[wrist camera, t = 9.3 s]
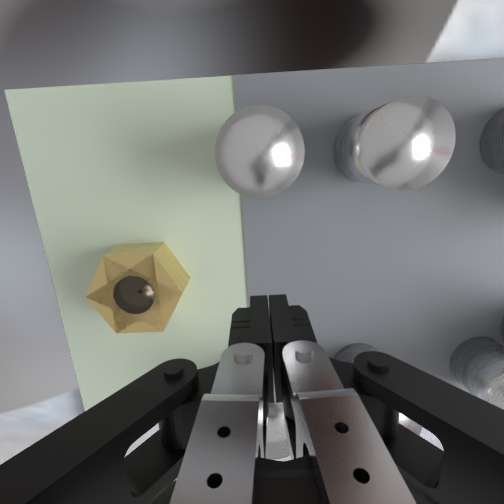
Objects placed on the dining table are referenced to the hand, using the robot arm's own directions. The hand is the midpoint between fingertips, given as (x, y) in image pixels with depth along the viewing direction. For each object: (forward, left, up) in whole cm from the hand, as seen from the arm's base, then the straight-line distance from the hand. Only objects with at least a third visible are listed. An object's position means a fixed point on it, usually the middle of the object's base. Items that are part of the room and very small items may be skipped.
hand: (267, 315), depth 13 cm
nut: (0, -7, -7) cm, 10 cm away
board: (+1, +3, -7) cm, 8 cm away
